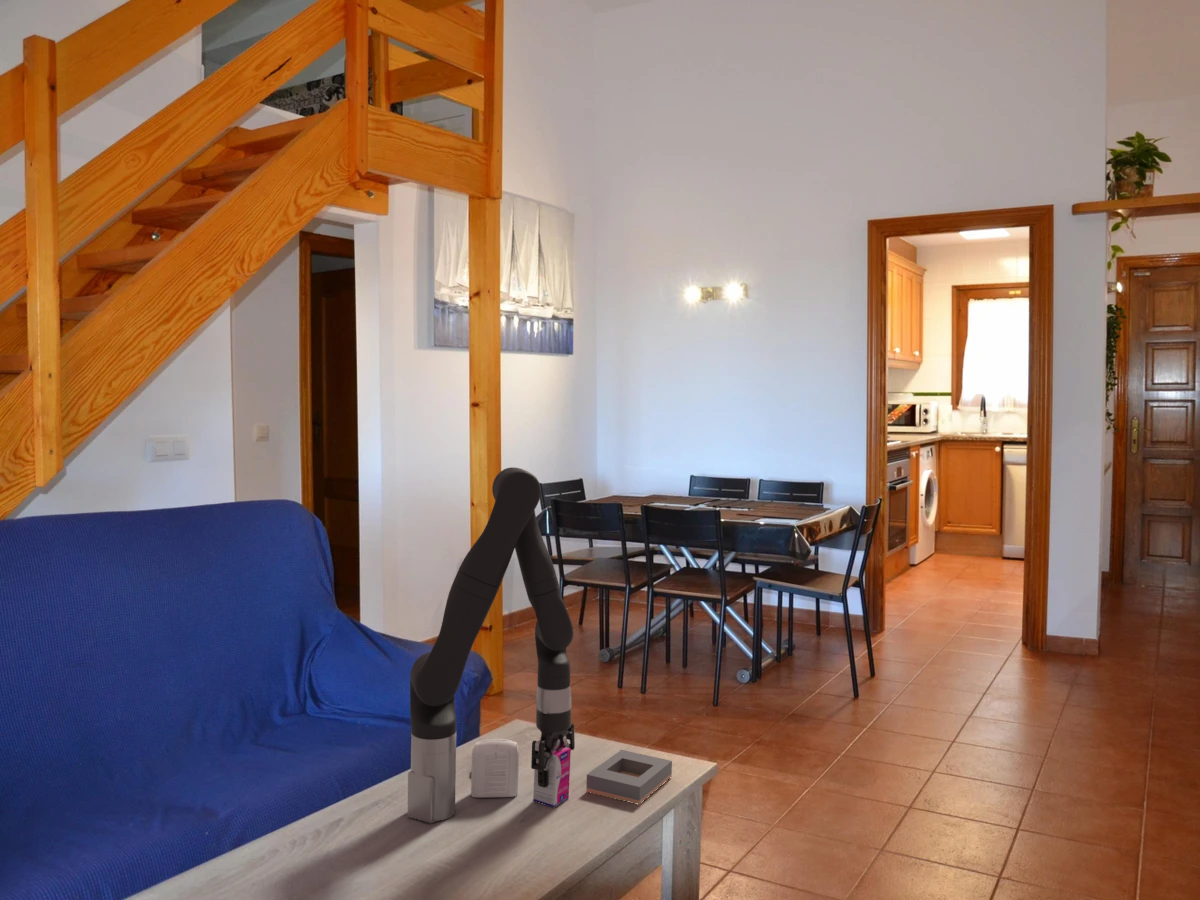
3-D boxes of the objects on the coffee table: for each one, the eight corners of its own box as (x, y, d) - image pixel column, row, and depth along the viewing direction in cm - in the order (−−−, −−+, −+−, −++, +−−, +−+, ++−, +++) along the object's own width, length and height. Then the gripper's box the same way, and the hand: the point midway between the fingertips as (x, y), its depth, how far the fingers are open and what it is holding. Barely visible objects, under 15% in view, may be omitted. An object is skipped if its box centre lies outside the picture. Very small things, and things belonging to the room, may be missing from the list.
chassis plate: (639, 805, 209) (639, 787, 208) (586, 792, 215) (586, 774, 215) (671, 777, 224) (671, 760, 223) (621, 766, 230) (621, 749, 230)
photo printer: (517, 790, 215) (518, 735, 214) (518, 798, 211) (519, 742, 210) (470, 791, 214) (471, 736, 213) (471, 799, 210) (471, 743, 209)
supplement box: (555, 808, 206) (556, 755, 206) (532, 801, 209) (533, 749, 209) (570, 798, 211) (571, 747, 210) (547, 792, 214) (548, 741, 214)
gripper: (555, 693, 217) (555, 764, 218) (521, 712, 204) (520, 787, 206) (585, 699, 213) (584, 771, 215) (551, 718, 201) (551, 795, 202)
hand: (553, 779), depth 210 cm, fingers open, 8 cm apart
